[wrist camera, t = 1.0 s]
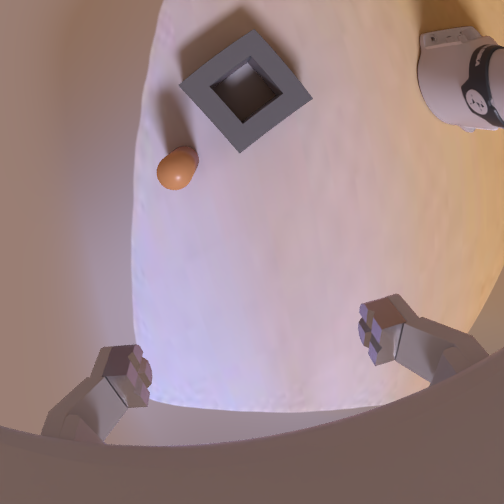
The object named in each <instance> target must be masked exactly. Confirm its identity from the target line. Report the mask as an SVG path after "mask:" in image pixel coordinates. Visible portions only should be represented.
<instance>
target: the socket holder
mask: <svg viewBox="0 0 504 504" xmlns="http://www.w3.org/2000/svg"><path fill="white" fill-rule="evenodd" d="M247 62H248V63H249V64H250V66H251V67H252V68H253V69H254V70H255V71H256V72H257V73H258V75H259V76H260V77H261V78H262V79H263V80H264V82H265V83H266V84H267V85H268V86H269V87H270V89H271V90H272V91H273V92H274V93H275V95H276V96H275V97H274V98H273V99H271V100H270V101H269V102H267V103H266V104H265V105H263V106H262V107H261V108H259V109H258V110H257V111H255V112H254V113H253V114H251V115H250V116H249V117H247V118H246V119H245V120H244V121H242V122H241V121H240V120H239V119H238V118H237V117H236V116H235V114H234V113H233V112H232V111H231V110H230V109H229V108H228V106H227V105H226V104H225V103H224V102H223V101H222V100H221V99H220V98H219V96H218V95H217V94H216V93H215V92H214V91H213V90H212V89H213V88H214V87H215V86H217V85H218V84H219V83H220V82H222V81H223V80H224V79H226V78H227V77H228V76H230V75H231V74H232V73H234V72H235V71H236V70H238V69H239V68H240V67H242V66H243V65H245V64H246V63H247ZM179 86H180V88H181V89H182V90H183V91H184V92H185V93H186V94H187V95H188V96H189V97H190V98H191V99H192V100H193V101H194V103H195V104H196V105H197V106H198V107H199V108H200V109H201V110H202V111H203V112H204V114H205V115H206V116H207V117H208V118H209V119H210V120H211V121H212V122H213V124H214V125H215V126H216V127H217V128H218V129H219V130H220V131H221V133H222V134H223V135H224V136H225V137H226V138H227V139H228V141H229V142H230V143H231V144H232V145H233V146H234V147H235V149H236V150H237V151H238V152H239V153H241V152H242V151H243V150H245V149H246V148H247V147H249V146H250V145H251V144H252V143H254V142H255V141H256V140H257V139H259V138H260V137H261V136H263V135H264V134H265V133H266V132H268V131H269V130H270V129H272V128H273V127H274V126H276V125H277V124H278V123H280V122H281V121H282V120H284V119H285V118H286V117H288V116H289V115H291V114H292V113H293V112H295V111H296V110H297V109H299V108H300V107H302V106H303V105H304V104H306V103H307V102H309V101H310V100H312V99H313V98H312V97H311V95H310V94H309V93H308V91H307V90H306V89H305V88H304V86H303V85H302V84H301V82H300V81H299V80H298V79H297V77H296V76H295V75H294V74H293V73H292V71H291V70H290V69H289V68H288V66H287V65H286V64H285V63H284V62H283V61H282V59H281V58H280V57H279V56H278V55H277V54H276V52H275V51H274V50H273V49H272V48H271V47H270V46H269V45H268V43H267V42H266V41H265V40H264V39H263V38H262V37H261V36H260V35H259V34H258V33H257V32H256V30H255V29H253V30H252V31H250V32H249V33H247V34H246V35H244V36H243V37H241V38H240V39H238V40H237V41H235V42H234V43H232V44H231V45H230V46H228V47H227V48H225V49H224V50H223V51H221V52H220V53H219V54H217V55H216V56H214V57H213V58H212V59H210V60H209V61H208V62H207V63H205V64H204V65H203V66H201V67H200V68H199V69H198V70H196V71H195V72H194V73H193V74H191V75H190V76H189V77H188V78H187V79H185V80H184V81H183V82H182V83H181V84H179Z"/></svg>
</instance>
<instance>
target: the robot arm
mask: <svg viewBox="0 0 504 504" xmlns="http://www.w3.org/2000/svg"><path fill="white" fill-rule="evenodd" d="M431 38H432V40H433V41H432V40H431ZM420 46H421V56H420V59H419V64H418V80H419V86H420V90H421V93H422V95H423V98H424V100H425V102H426V104H427V105H428V107H429V108H430V110H431V111H432V112H433V114H434V115H435V116H436V117H438V118H439V119H440V120H442V121H443V122H445V123H448V124H452V125H458V126H460V127H461V128H462V129H463V130H465V131H466V132H473V131H474V130H475V129H476V128H478V129H486V130H497V129H498V127H499V128H502V129H504V47H502V46H500V45H498V44H497V43H496V41H495V40H494V39H493V38H491V37H490V36H481V35H480V34H479V32H478V31H477V30H476V29H475V28H474V27H472V26H465V27H458V28H451V29H445V30H439V31H434V32H428V33H424V34H421V36H420ZM359 313H360V315H361V316H362V318H361V319H360V321H359V324H358V331H359V336H360V339H361V342H362V343H363V345H364V346H366V347H368V348H369V352H368V354H369V356H370V358H371V360H372V361H373V363H374V365H375V366H377V365H380V364H384V363H387V362H390V361H393V360H395V361H396V362H398V363H400V364H401V365H403V366H404V367H406V368H408V369H409V370H411V371H413V372H414V373H416V374H417V375H419V376H421V377H422V378H424V379H426V380H427V381H429V382H430V386H429V387H428V388H425V389H423V390H421V391H419V392H416V393H414V394H411V395H409V396H407V397H404V398H401V399H399V400H396V401H394V402H391V403H388V404H386V405H383V406H380V407H377V408H374V409H372V410H369V411H366V412H363V413H360V414H357V415H354V416H350V417H347V418H343V419H340V420H336V421H333V422H329V423H325V424H321V425H318V426H314V427H309V428H305V429H301V430H296V431H292V432H286V433H282V434H276V435H271V436H265V437H259V438H252V439H245V440H238V441H229V442H220V443H209V444H197V445H177V446H130V445H112V444H111V445H110V444H106V443H105V442H104V440H105V438H106V437H107V436H108V435H109V433H110V432H111V431H112V429H113V428H114V427H115V425H116V424H117V423H118V421H119V420H120V419H121V417H122V416H123V415H124V413H125V412H126V411H127V409H128V408H132V407H133V408H134V407H147V406H148V401H149V395H150V392H149V391H148V389H147V388H148V387H149V386H150V385H151V383H152V370H151V367H150V364H149V362H148V360H146V359H145V358H143V357H142V354H143V351H142V349H141V347H140V346H139V345H124V346H113V347H103V348H101V349H100V352H99V355H98V357H97V360H96V362H95V365H94V368H93V370H92V373H91V376H90V377H87V378H86V379H84V381H82V382H81V383H80V384H79V385H78V386H77V387H75V388H74V389H73V390H72V391H71V392H70V393H69V394H68V395H67V396H65V397H64V398H63V399H62V400H61V401H60V402H59V403H58V404H57V405H56V406H55V407H53V408H52V409H51V410H50V411H49V412H48V415H47V418H46V421H45V423H44V426H43V429H42V432H41V435H36V434H32V433H27V432H23V431H18V430H14V429H10V428H7V427H3V426H0V504H504V347H503V348H501V349H499V350H498V351H496V352H495V353H493V354H491V355H490V356H489V354H488V353H487V352H486V351H485V350H484V348H483V347H482V346H481V345H480V344H479V343H478V342H477V340H476V339H475V338H474V337H473V336H471V335H469V334H466V333H464V332H461V331H458V330H456V329H453V328H450V327H448V326H445V325H442V324H440V323H437V322H435V321H432V320H429V319H427V318H424V317H421V318H419V317H418V316H417V315H416V313H415V312H414V311H413V310H412V309H411V308H410V306H409V305H408V304H407V303H406V302H405V301H404V300H403V298H402V297H401V296H400V295H399V294H393V295H390V296H387V297H385V298H381V299H377V300H373V301H370V302H366V303H362V304H361V306H360V311H359Z"/></svg>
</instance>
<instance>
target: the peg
mask: <svg viewBox="0 0 504 504" xmlns="http://www.w3.org/2000/svg"><path fill="white" fill-rule="evenodd" d="M198 163H199V157H198V154H197V153H196V151H195V150H194V149H192V148H190V147H187V146H182V147H178V148H177V149H175V150H174V151H172V152H171V153H170V154H169V155H167V156H166V157H165V158H164V159H162V160H161V162H160V163H159V165H158V167H157V177H158V180H159V182H160V183H161V184H162V185H163V186H164V187H165V188H167V189H170V190H179V189H182V188H184V187H185V186H187V185H188V184H189V182H190V180H191V179H192V176H193V174H194V172H195V170H196V168H197V166H198Z"/></svg>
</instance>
